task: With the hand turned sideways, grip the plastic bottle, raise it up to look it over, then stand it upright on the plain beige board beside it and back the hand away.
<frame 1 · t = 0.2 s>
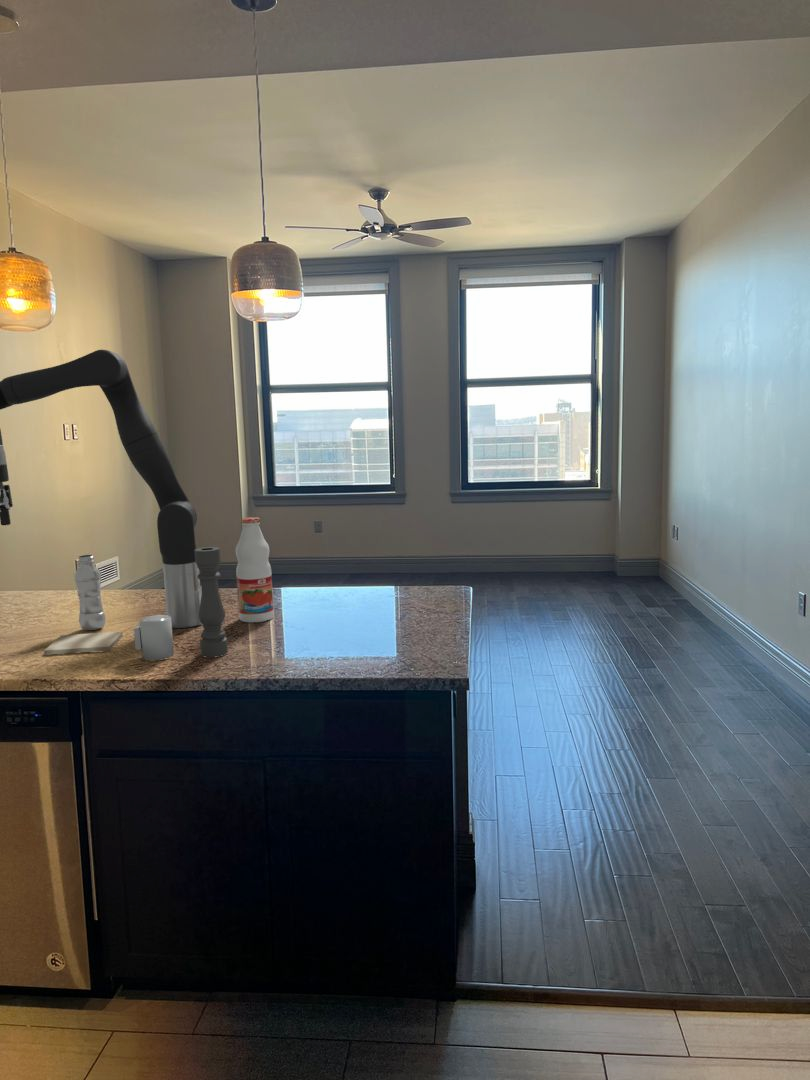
candle holder: (214, 654, 177), on the countertop
plastic bottle: (93, 630, 201), on the countertop
grey mug: (158, 656, 176), on the countertop
fruit juice: (256, 619, 207), on the countertop
plain beige board: (85, 645, 186), on the countertop
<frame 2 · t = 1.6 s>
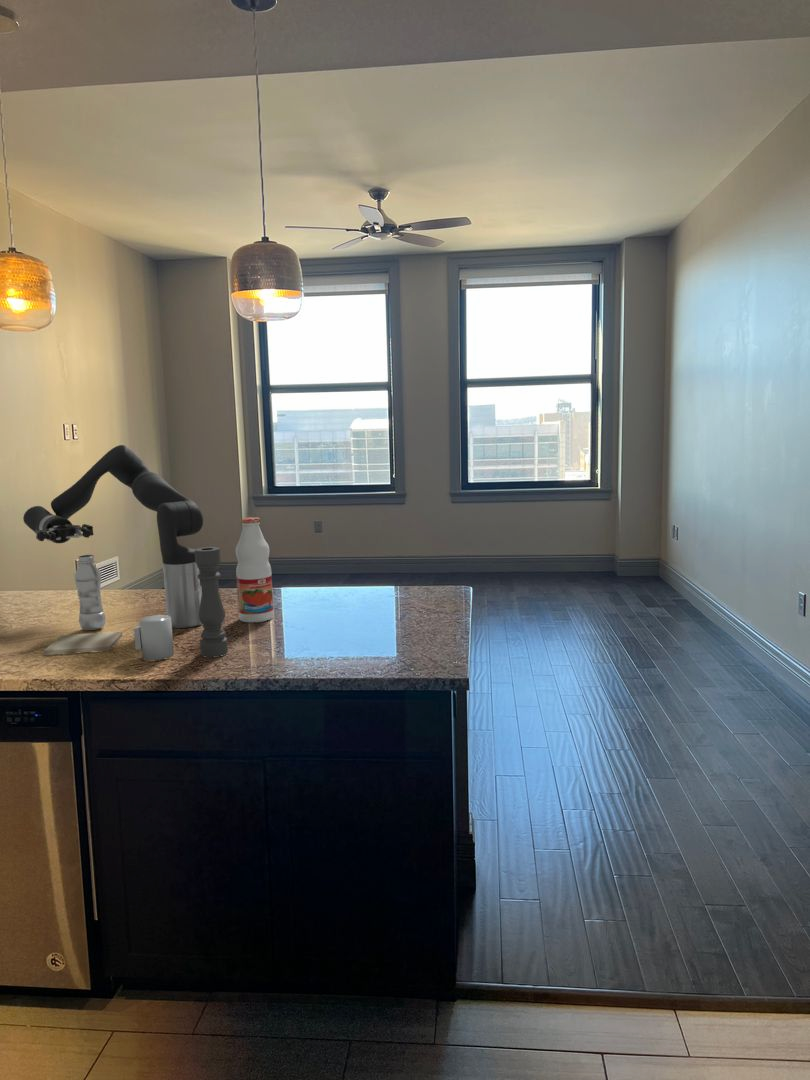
hand: (71, 535, 205), 24 cm above the countertop, tool horizontal, fingers open, 8 cm apart
nothing on the countertop moved.
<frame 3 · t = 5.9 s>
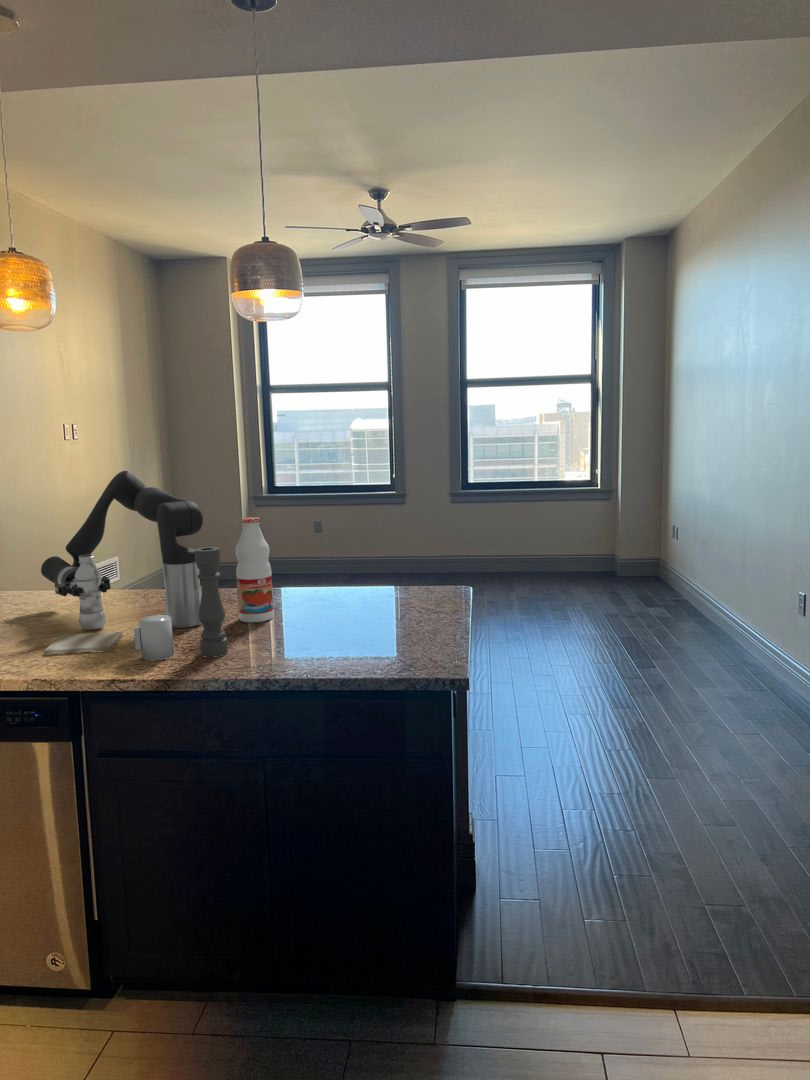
hand: (91, 590, 197), 11 cm above the countertop, tool horizontal, fingers closed on plastic bottle, 6 cm apart
plastic bottle: (93, 630, 201), on the countertop, touching gripper
everything else where it was.
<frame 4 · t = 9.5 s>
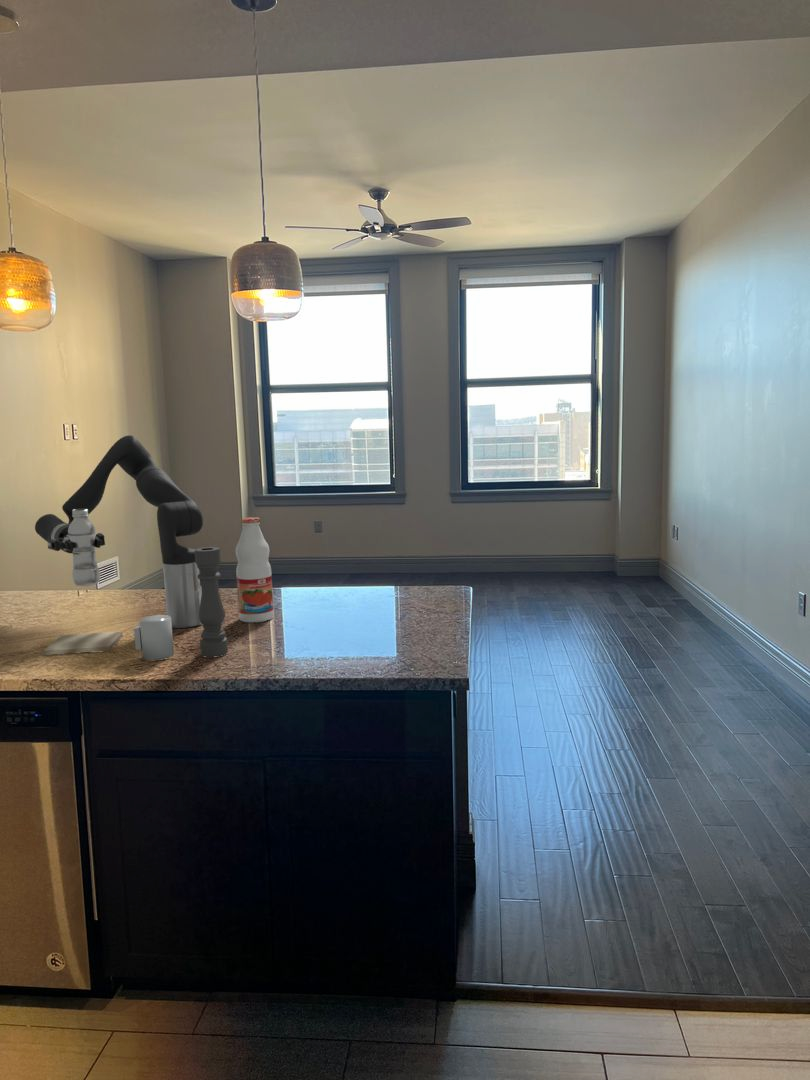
hand: (85, 545, 191), 24 cm above the countertop, tool horizontal, fingers closed on plastic bottle, 6 cm apart
plastic bottle: (87, 586, 195), point 13 cm above the countertop, touching gripper
everything else where it was.
when the fingers open (13 cm above the countertop, at t = 13.3 s): plastic bottle drops 1 cm, resting on plain beige board.
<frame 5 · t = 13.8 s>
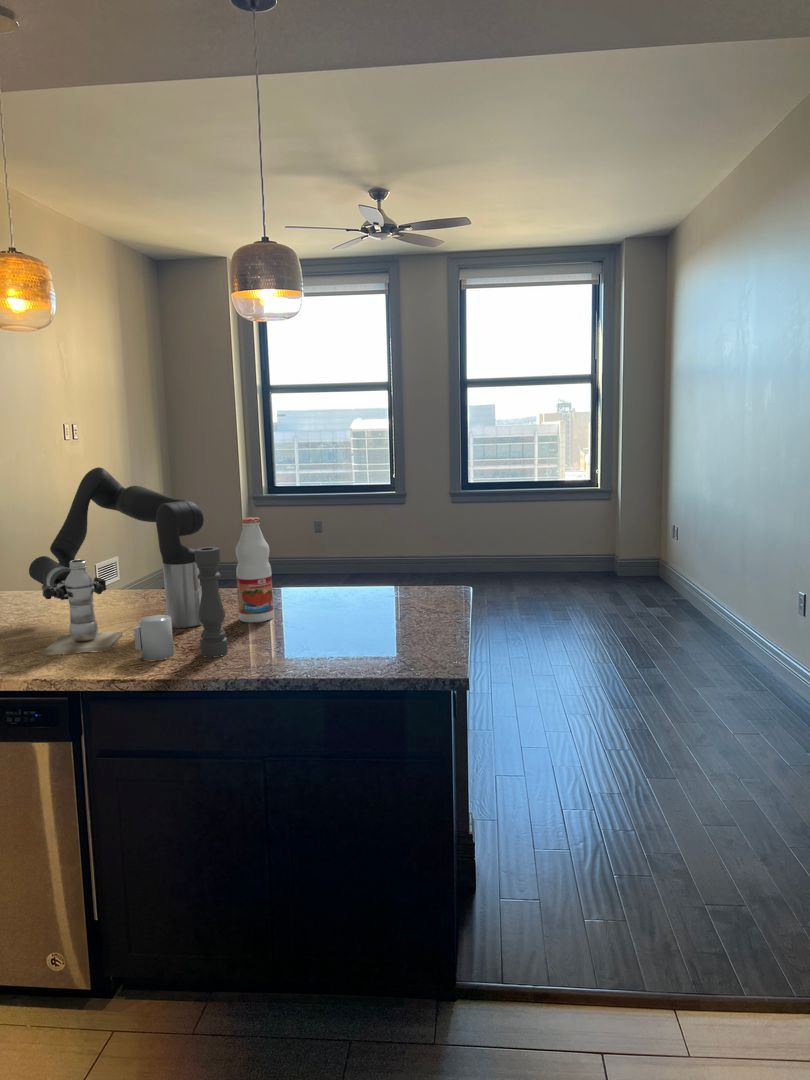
hand: (81, 592, 183), 14 cm above the countertop, tool horizontal, fingers open, 8 cm apart
plastic bottle: (84, 641, 186), point 1 cm above the countertop, touching plain beige board
everything else where it was.
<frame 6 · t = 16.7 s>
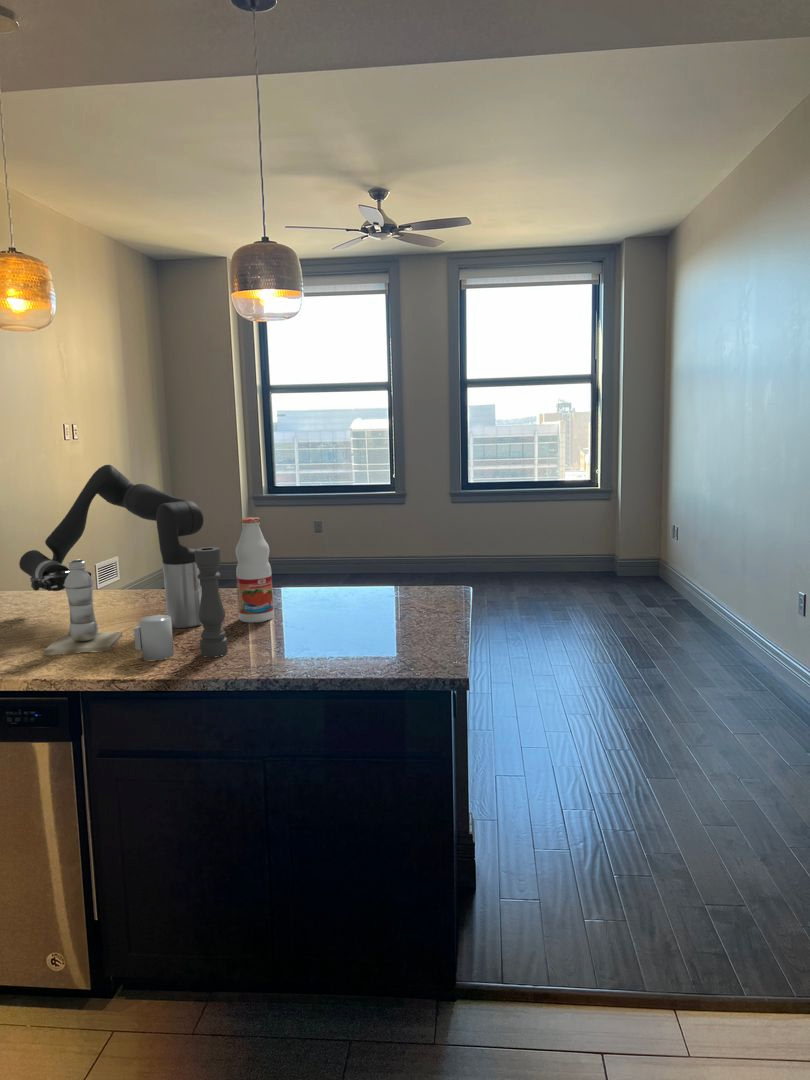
hand: (68, 584, 193), 14 cm above the countertop, tool horizontal, fingers open, 8 cm apart
nothing on the countertop moved.
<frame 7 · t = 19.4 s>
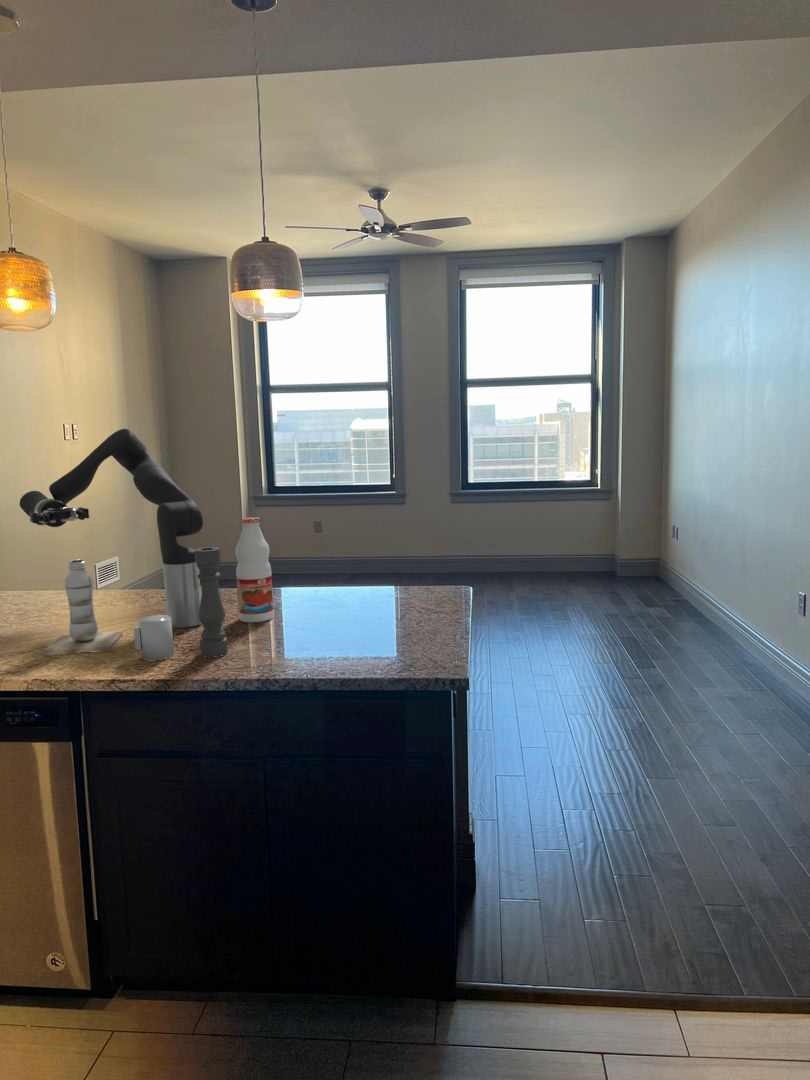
hand: (66, 517, 199), 30 cm above the countertop, tool horizontal, fingers open, 8 cm apart
nothing on the countertop moved.
at the end: plastic bottle inside the target area on the plain beige board (0.2 cm from its centre), point 1.0 cm above the plain beige board's base; plastic bottle tilted 0°; the gripper is holding nothing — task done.
